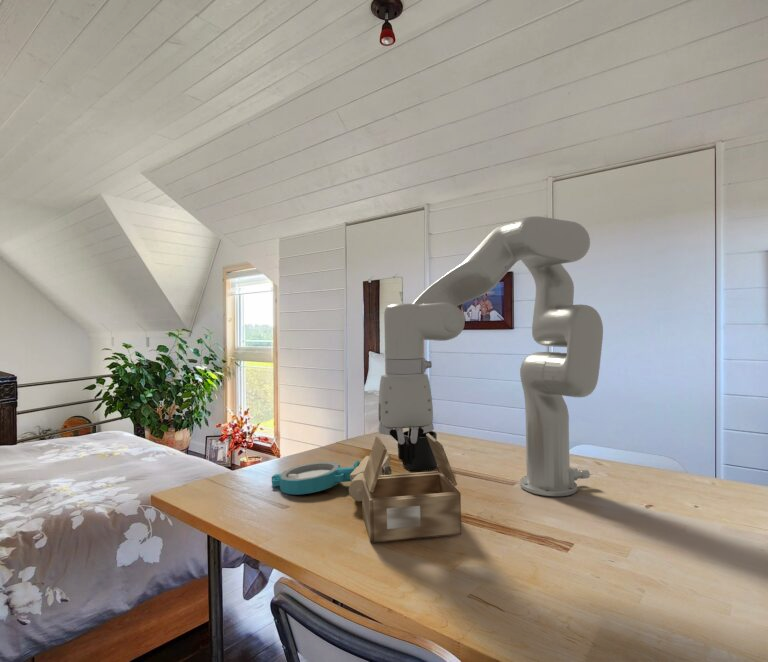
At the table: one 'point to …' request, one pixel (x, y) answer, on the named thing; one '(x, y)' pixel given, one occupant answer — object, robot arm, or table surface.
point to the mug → (422, 453)
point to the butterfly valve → (326, 477)
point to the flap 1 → (374, 463)
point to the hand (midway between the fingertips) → (406, 462)
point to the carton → (411, 507)
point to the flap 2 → (441, 459)
